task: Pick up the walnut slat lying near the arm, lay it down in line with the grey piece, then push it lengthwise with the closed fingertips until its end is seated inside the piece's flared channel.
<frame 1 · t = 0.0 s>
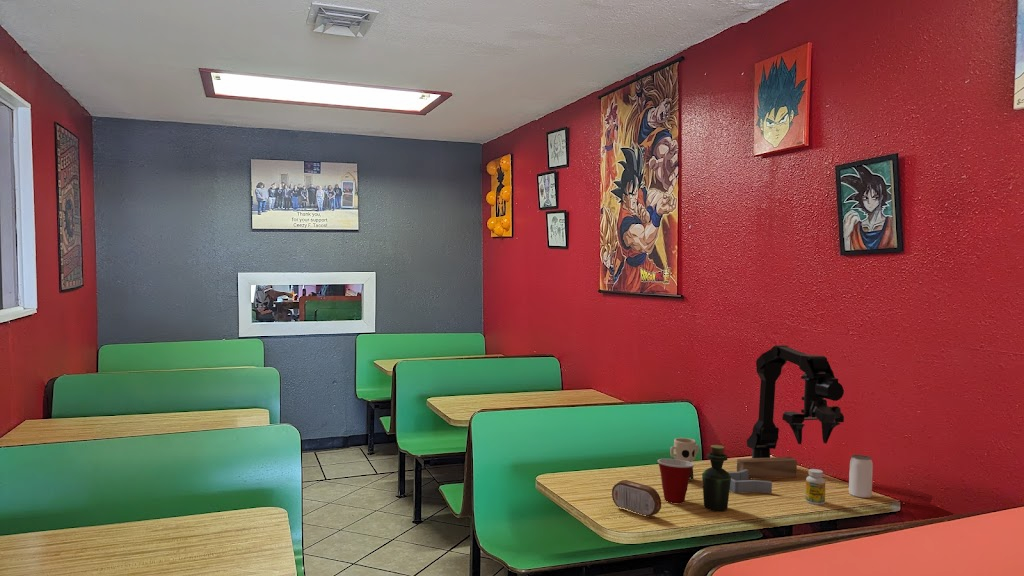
hand: (812, 443, 225), 15 cm above the table, tool pointing down, fingers open, 9 cm apart
tin: (635, 513, 200), on the table
character mug: (683, 479, 234), on the table
potion bottle: (715, 508, 206), on the table
grey piece: (737, 487, 226), on the table
can: (860, 495, 221), on the table
supplement bottle: (815, 503, 213), on the table
walnut slat: (766, 476, 239), on the table
plastic cup: (674, 501, 211), on the table
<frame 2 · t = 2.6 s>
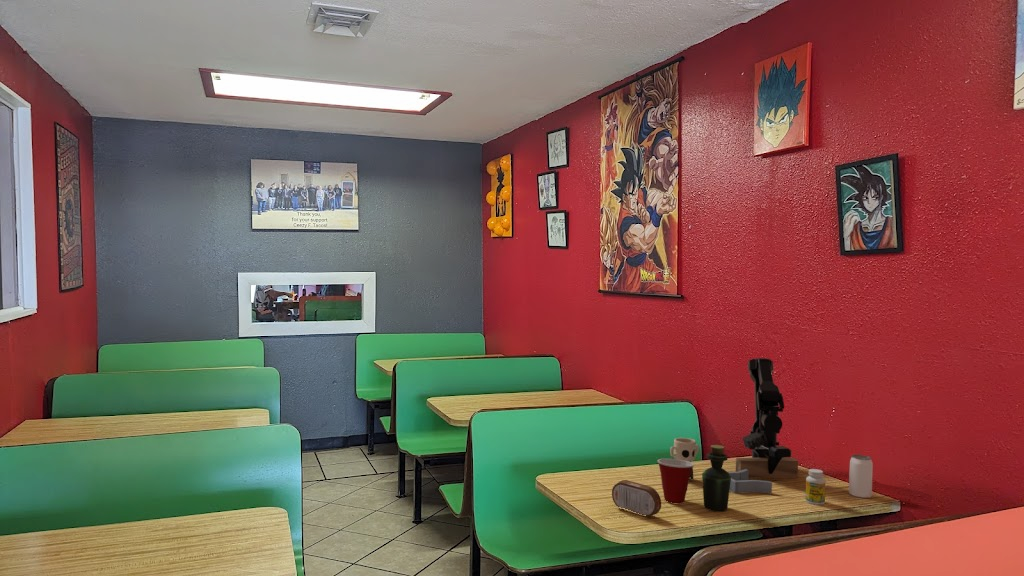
hand: (766, 471, 239), 2 cm above the table, tool pointing down, fingers closed on walnut slat, 4 cm apart
walnut slat: (766, 476, 239), on the table, touching gripper
everything else where it was.
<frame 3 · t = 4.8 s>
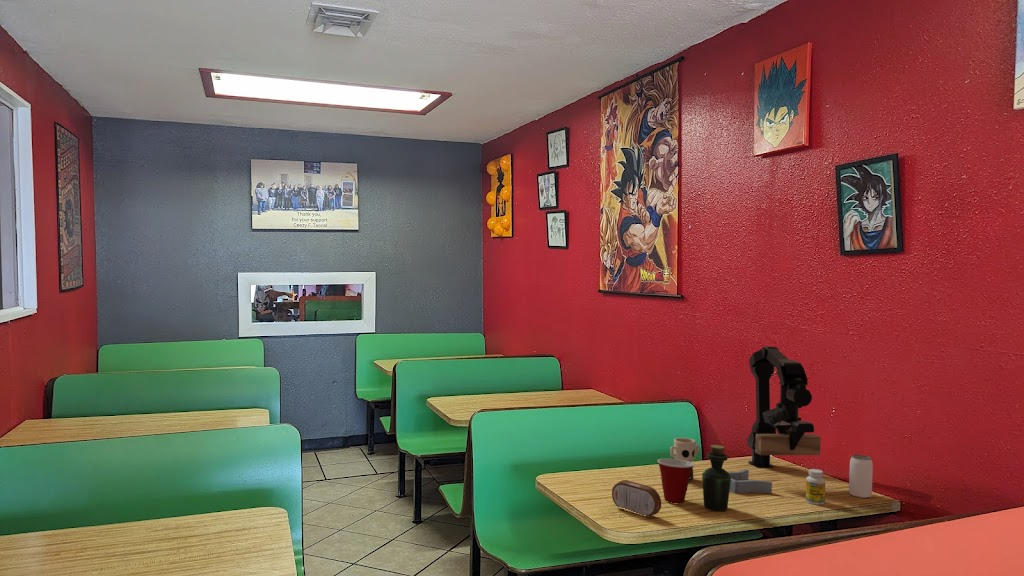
hand: (787, 448, 230), 12 cm above the table, tool pointing down, fingers closed on walnut slat, 4 cm apart
walnut slat: (787, 453, 230), point 10 cm above the table, touching gripper
everything else where it was.
when the fingers open (2 cm above the table, at t = 6.8 s): walnut slat drops 1 cm, on the table.
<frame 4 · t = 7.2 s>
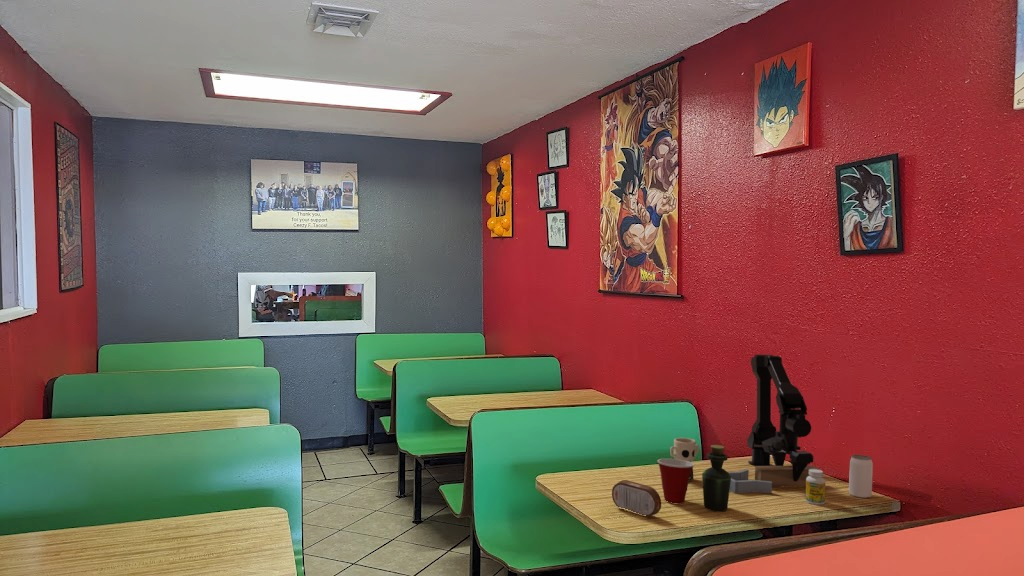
hand: (787, 477, 230), 2 cm above the table, tool pointing down, fingers open, 8 cm apart
walnut slat: (786, 485, 230), on the table
everything else where it was.
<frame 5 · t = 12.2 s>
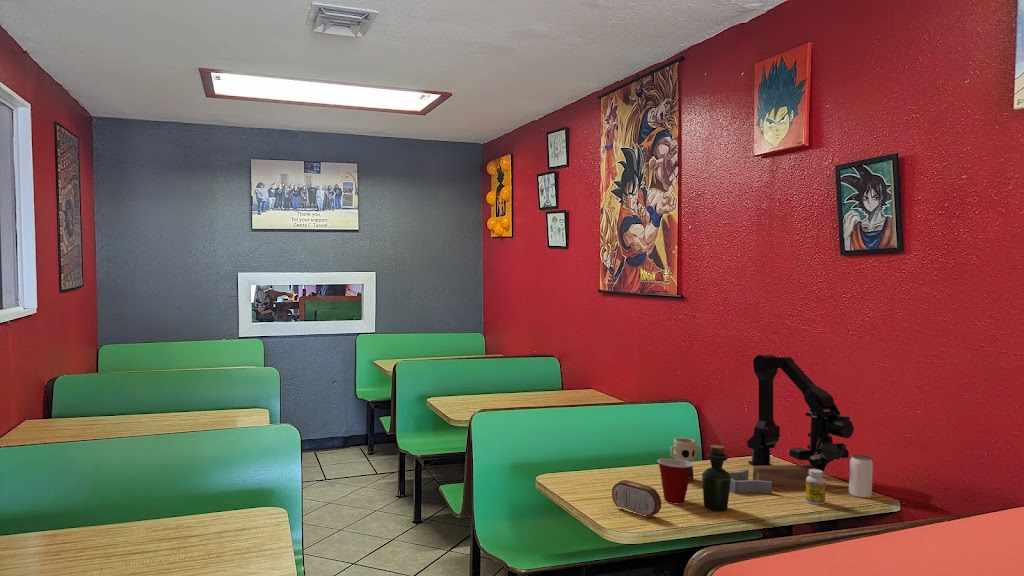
hand: (818, 478, 233), 2 cm above the table, tool pointing down, fingers closed
walnut slat: (784, 485, 230), on the table, touching gripper
everything else where it was.
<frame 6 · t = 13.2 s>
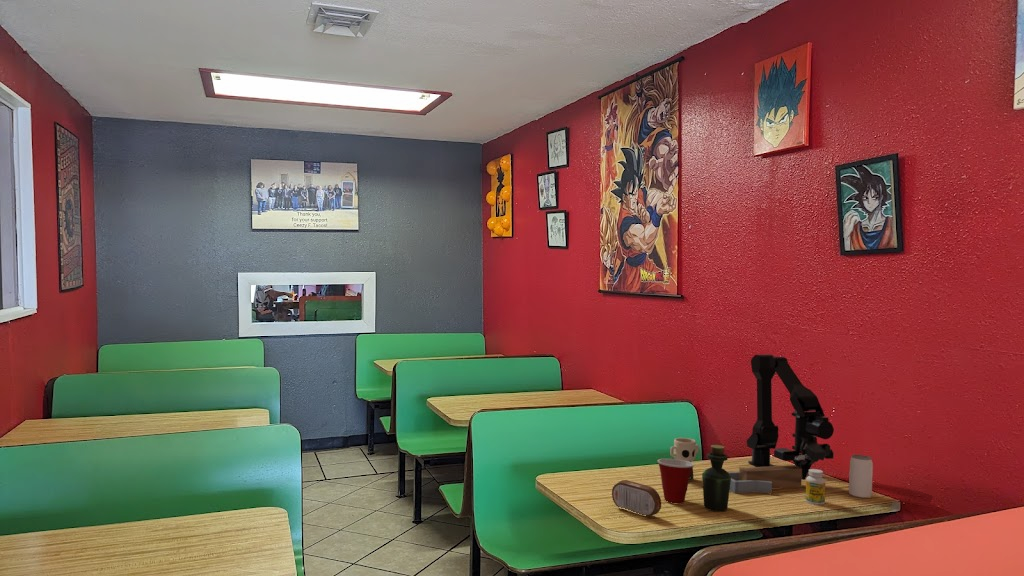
hand: (803, 479, 231), 2 cm above the table, tool pointing down, fingers closed
walnut slat: (770, 486, 228), on the table, touching gripper
everything else where it was.
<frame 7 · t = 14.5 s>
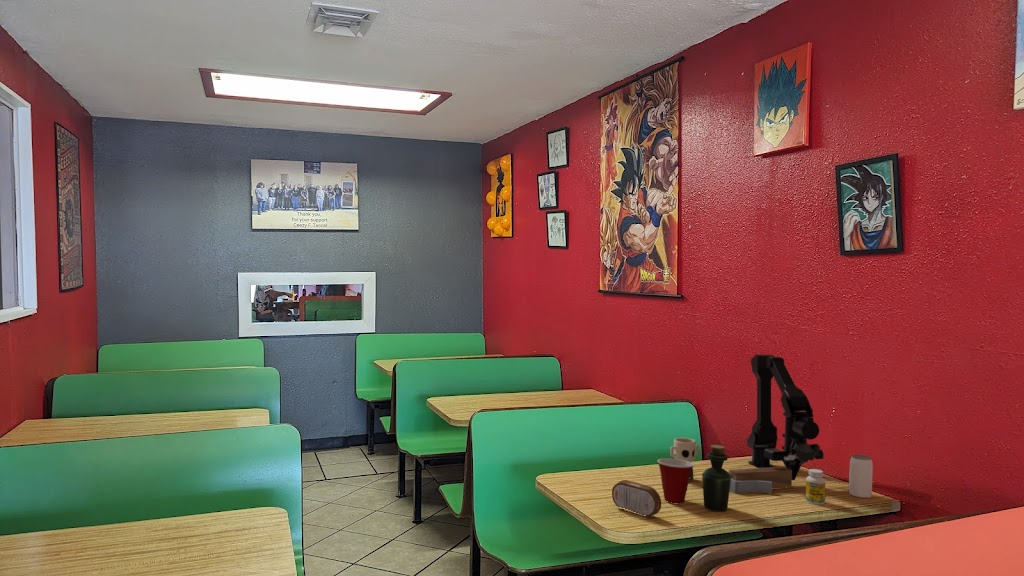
hand: (792, 479, 230), 2 cm above the table, tool pointing down, fingers closed
walnut slat: (760, 488, 227), on the table
everything else where it was.
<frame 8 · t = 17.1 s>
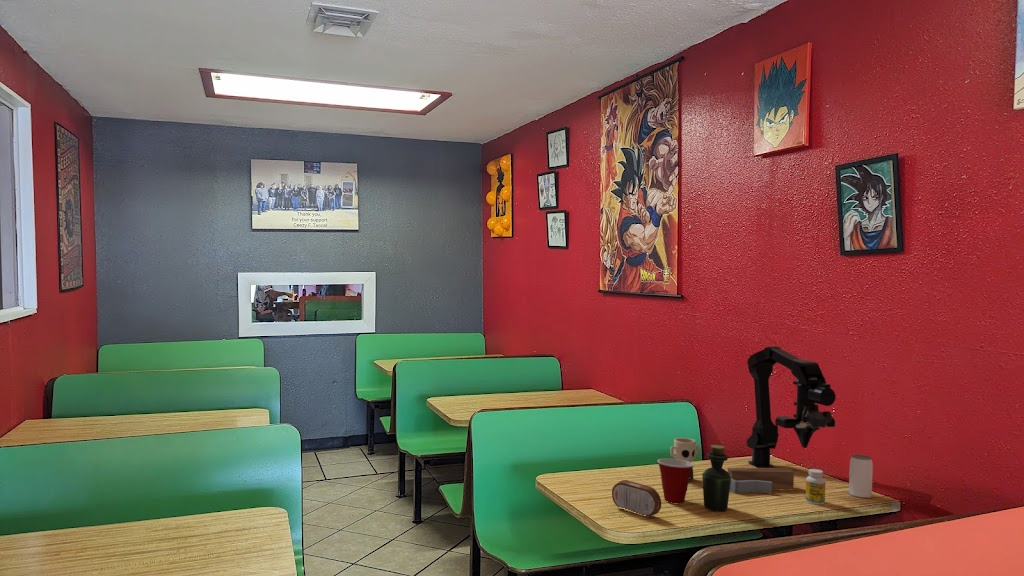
hand: (804, 447, 231), 12 cm above the table, tool pointing down, fingers closed
at the end: walnut slat inside the target area (1.2 cm from its centre), on the table; the gripper is holding nothing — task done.
